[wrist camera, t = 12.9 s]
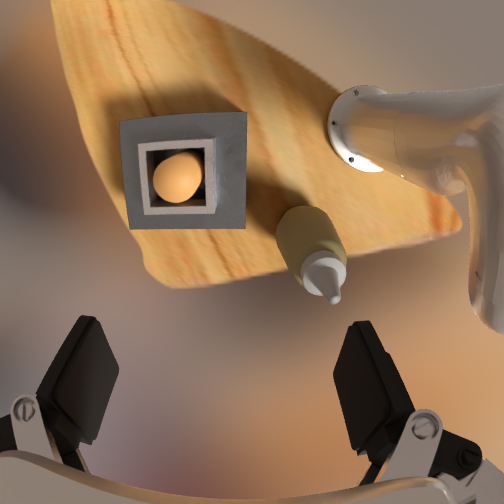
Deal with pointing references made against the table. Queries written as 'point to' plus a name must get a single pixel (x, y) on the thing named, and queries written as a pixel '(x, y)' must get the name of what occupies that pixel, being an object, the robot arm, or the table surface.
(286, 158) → the table surface
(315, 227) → the squeeze bottle
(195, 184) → the orange cylinder
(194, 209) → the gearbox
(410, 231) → the table surface
